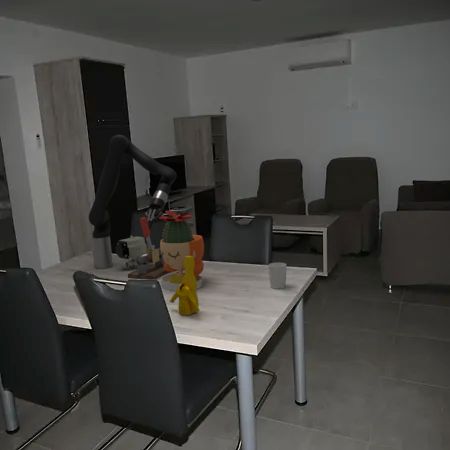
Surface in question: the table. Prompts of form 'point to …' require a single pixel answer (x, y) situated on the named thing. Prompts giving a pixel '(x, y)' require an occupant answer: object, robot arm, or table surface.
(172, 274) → the potted cactus
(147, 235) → the valve lever
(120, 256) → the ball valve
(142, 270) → the valve pipe
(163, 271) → the valve stand base
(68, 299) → the table surface
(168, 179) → the robot arm
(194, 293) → the figure statuette
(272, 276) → the white cup
